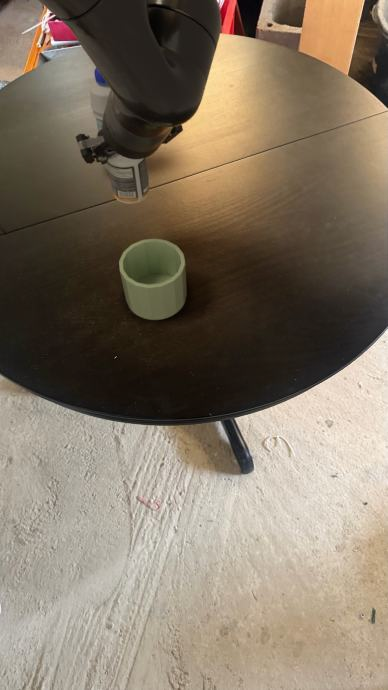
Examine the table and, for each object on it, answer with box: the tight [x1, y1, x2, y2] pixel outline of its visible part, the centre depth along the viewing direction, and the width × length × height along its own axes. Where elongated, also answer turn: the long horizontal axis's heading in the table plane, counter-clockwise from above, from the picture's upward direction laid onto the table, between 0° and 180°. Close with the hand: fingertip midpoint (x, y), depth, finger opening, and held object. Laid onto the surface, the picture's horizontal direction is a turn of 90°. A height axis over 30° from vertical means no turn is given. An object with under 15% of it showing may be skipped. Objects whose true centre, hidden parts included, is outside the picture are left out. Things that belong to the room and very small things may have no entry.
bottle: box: [89, 67, 111, 171], centre depth 88 cm, size 7×7×20 cm
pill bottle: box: [107, 155, 150, 205], centre depth 70 cm, size 6×6×10 cm
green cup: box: [118, 238, 188, 321], centre depth 74 cm, size 10×10×8 cm
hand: (122, 151), depth 69 cm, fingers closed on pill bottle, 5 cm apart
